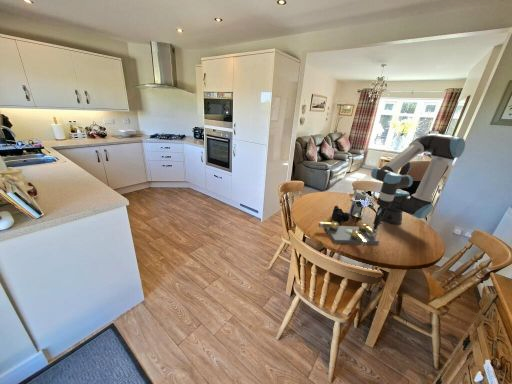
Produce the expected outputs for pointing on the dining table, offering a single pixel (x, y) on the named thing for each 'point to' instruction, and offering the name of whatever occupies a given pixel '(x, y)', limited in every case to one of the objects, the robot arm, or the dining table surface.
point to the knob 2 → (367, 229)
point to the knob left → (358, 237)
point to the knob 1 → (329, 225)
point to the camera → (339, 215)
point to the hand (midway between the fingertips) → (373, 232)
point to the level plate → (349, 235)
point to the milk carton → (354, 206)
